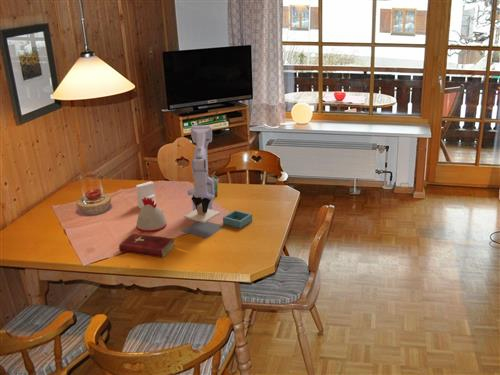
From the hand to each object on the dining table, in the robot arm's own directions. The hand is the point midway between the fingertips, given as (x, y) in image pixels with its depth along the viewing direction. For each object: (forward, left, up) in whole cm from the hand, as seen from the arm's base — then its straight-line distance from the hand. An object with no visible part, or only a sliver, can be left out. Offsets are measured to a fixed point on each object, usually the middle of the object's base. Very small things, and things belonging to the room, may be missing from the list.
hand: (202, 211), depth 262 cm
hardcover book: (-9, -28, -10) cm, 31 cm away
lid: (0, 0, -2) cm, 2 cm away
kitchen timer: (-23, -10, -10) cm, 27 cm away
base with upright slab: (-43, +8, -9) cm, 45 cm away
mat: (0, 0, -9) cm, 9 cm away
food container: (-21, +36, -9) cm, 43 cm away
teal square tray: (+10, +14, -9) cm, 20 cm away
